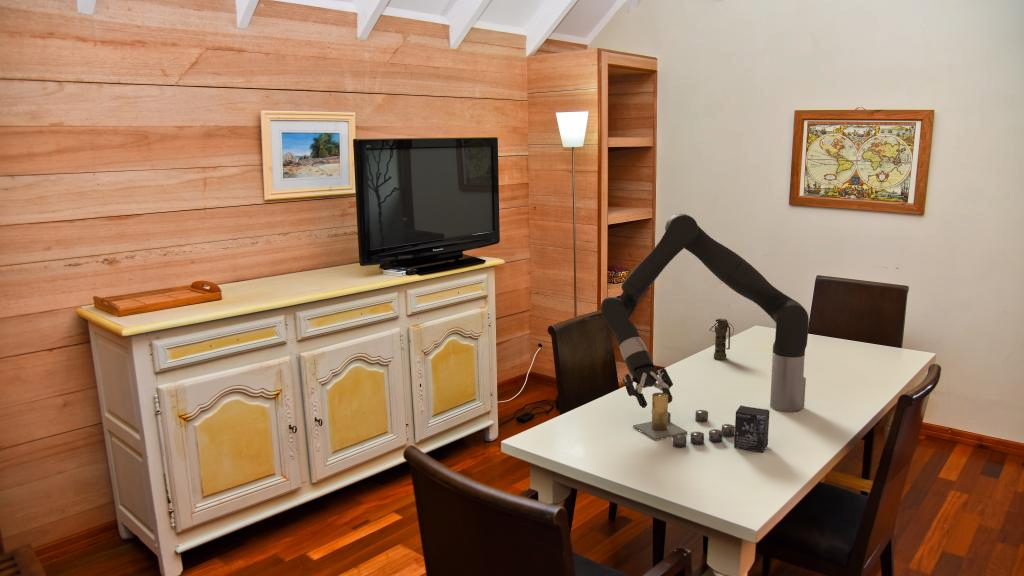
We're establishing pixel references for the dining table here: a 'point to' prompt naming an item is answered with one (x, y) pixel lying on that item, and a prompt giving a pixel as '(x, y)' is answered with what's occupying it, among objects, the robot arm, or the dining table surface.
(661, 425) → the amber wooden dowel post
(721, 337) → the grenade
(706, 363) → the dining table surface
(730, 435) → the spacers
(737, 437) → the box
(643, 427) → the pad
